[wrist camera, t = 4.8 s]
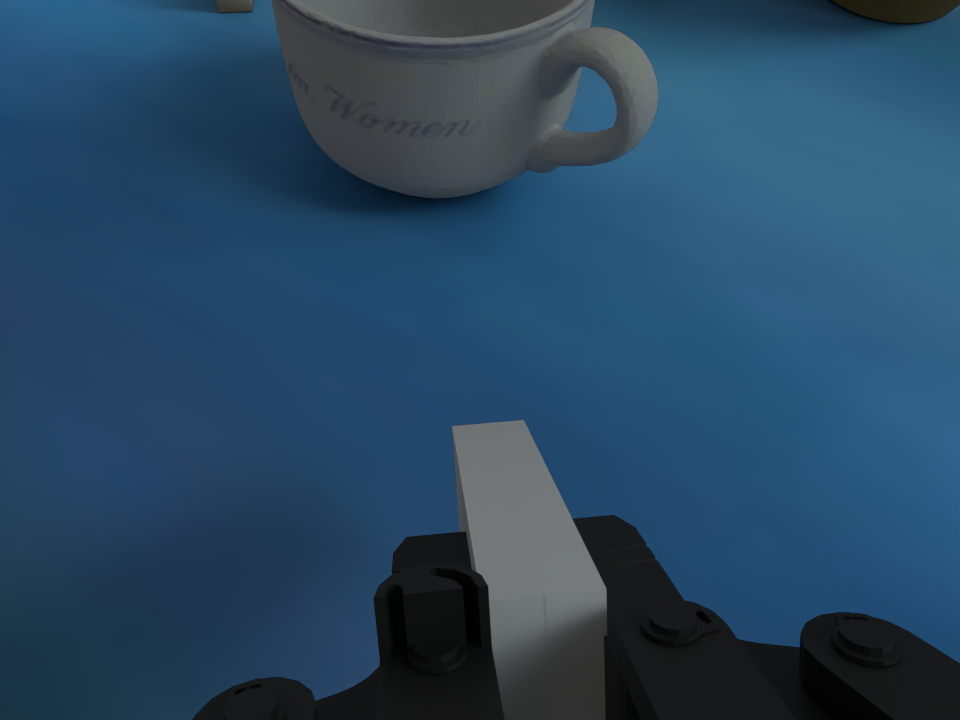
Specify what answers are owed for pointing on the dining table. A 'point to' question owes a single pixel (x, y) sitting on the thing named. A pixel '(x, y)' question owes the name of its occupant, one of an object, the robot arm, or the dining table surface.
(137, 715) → the dining table surface
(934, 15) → the plant pot
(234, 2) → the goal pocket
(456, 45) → the teacup
